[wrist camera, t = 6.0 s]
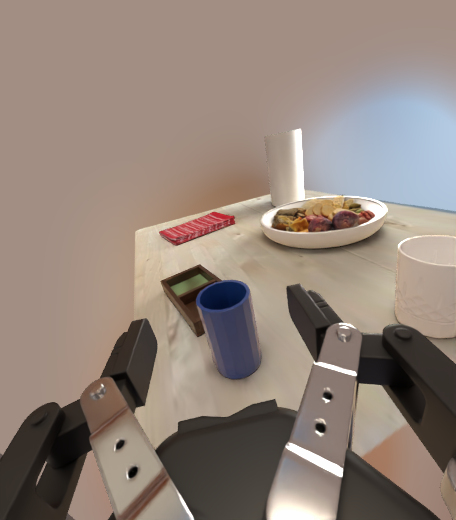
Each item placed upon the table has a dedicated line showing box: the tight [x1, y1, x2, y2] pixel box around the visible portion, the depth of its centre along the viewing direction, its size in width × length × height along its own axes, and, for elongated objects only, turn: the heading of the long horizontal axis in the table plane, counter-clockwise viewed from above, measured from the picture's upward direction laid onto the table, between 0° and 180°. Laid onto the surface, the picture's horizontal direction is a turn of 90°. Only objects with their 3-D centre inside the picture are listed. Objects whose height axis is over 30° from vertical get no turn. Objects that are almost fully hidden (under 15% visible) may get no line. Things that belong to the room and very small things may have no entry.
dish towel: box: [159, 212, 235, 245], centre depth 84 cm, size 17×24×3 cm
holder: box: [161, 264, 222, 337], centre depth 44 cm, size 9×17×3 cm, turn 31°
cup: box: [196, 280, 261, 379], centre depth 28 cm, size 6×6×10 cm
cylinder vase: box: [265, 129, 304, 207], centre depth 88 cm, size 12×12×25 cm
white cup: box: [395, 235, 456, 338], centre depth 28 cm, size 8×8×10 cm
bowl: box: [260, 195, 387, 248], centre depth 62 cm, size 30×30×8 cm
